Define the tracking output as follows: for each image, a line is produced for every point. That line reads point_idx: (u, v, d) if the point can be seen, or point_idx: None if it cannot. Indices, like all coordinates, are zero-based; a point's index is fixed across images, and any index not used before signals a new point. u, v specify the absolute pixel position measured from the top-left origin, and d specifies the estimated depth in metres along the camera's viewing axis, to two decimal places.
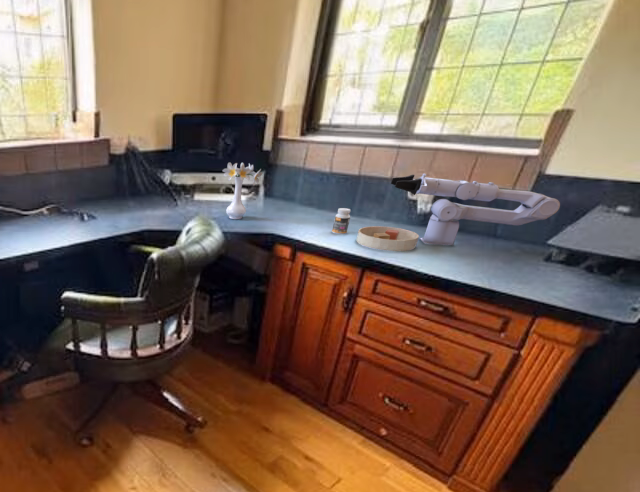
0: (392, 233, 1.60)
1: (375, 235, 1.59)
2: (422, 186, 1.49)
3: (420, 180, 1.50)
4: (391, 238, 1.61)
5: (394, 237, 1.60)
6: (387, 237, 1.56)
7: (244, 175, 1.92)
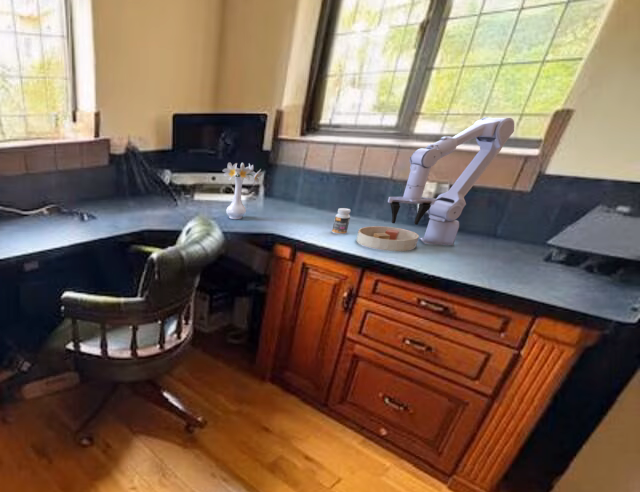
0: (392, 233, 1.60)
1: (375, 235, 1.59)
2: (434, 203, 1.50)
3: (430, 207, 1.49)
4: (391, 238, 1.61)
5: (394, 237, 1.60)
6: (387, 237, 1.56)
7: (244, 175, 1.92)
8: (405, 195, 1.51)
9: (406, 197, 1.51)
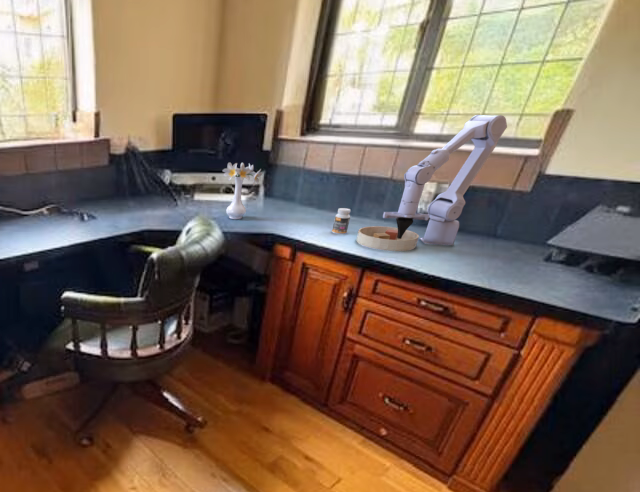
0: (392, 233, 1.60)
1: (375, 235, 1.59)
2: None
3: (412, 222, 1.53)
4: (391, 238, 1.61)
5: (394, 237, 1.60)
6: (387, 237, 1.56)
7: (244, 175, 1.92)
8: (400, 211, 1.54)
9: (401, 213, 1.54)
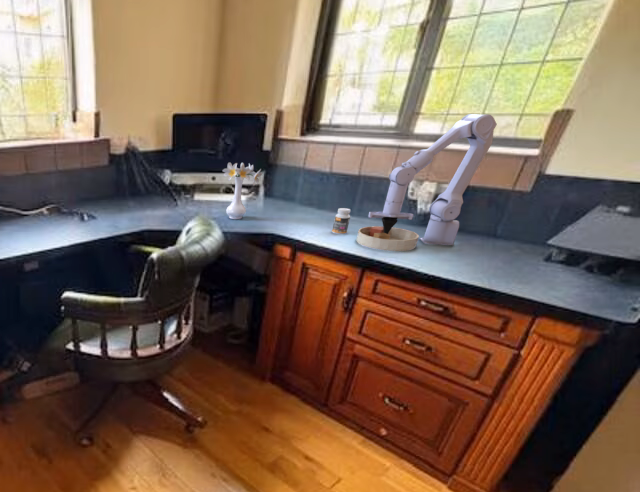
0: (377, 230, 1.64)
1: (375, 235, 1.59)
2: (411, 218, 1.57)
3: (396, 221, 1.58)
4: None
5: None
6: (387, 237, 1.56)
7: (244, 175, 1.92)
8: (384, 210, 1.58)
9: (385, 212, 1.58)
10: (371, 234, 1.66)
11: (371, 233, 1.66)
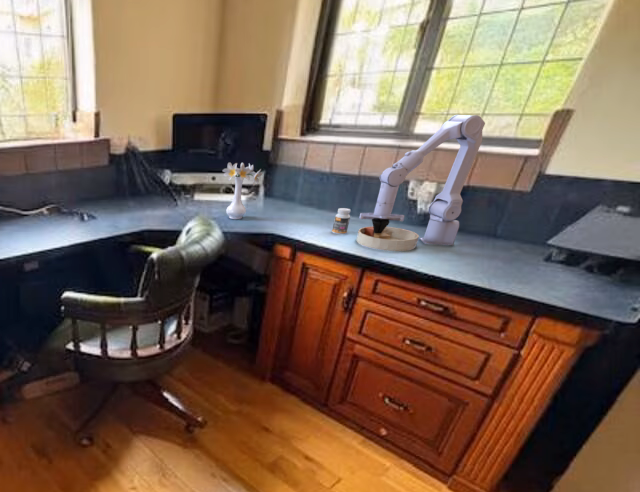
0: (370, 229, 1.65)
1: (375, 235, 1.58)
2: None
3: (388, 223, 1.56)
4: (369, 234, 1.66)
5: (371, 234, 1.65)
6: (387, 237, 1.56)
7: (244, 175, 1.92)
8: (375, 212, 1.57)
9: (376, 214, 1.57)
10: (365, 233, 1.67)
11: (365, 232, 1.67)
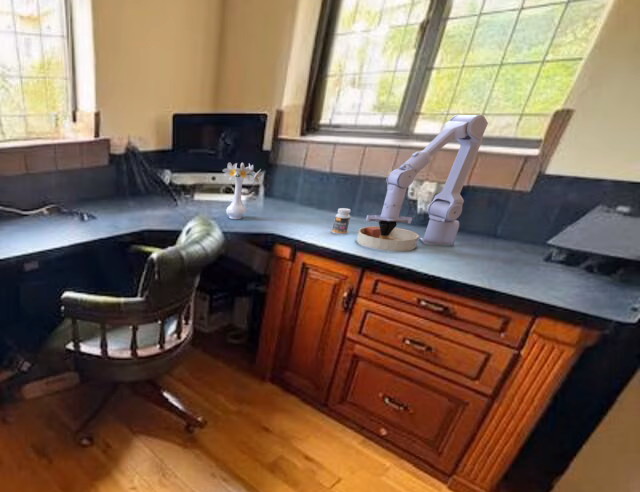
0: (370, 229, 1.65)
1: (380, 237, 1.56)
2: (410, 222, 1.52)
3: (395, 225, 1.53)
4: (369, 234, 1.66)
5: (371, 234, 1.65)
6: None
7: (244, 175, 1.92)
8: (382, 214, 1.54)
9: (383, 216, 1.53)
10: (365, 233, 1.67)
11: (365, 232, 1.67)
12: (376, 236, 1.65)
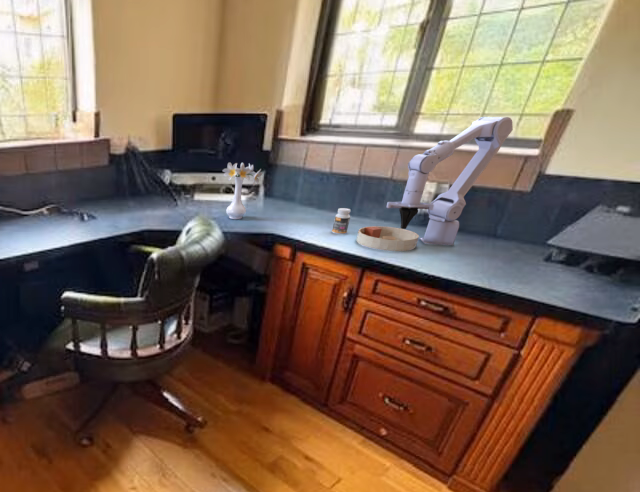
0: (370, 229, 1.65)
1: (382, 238, 1.55)
2: None
3: (417, 211, 1.51)
4: (369, 234, 1.66)
5: (371, 234, 1.65)
6: None
7: (244, 175, 1.92)
8: (403, 200, 1.52)
9: (404, 202, 1.52)
10: (365, 233, 1.67)
11: (365, 232, 1.67)
12: (376, 236, 1.65)
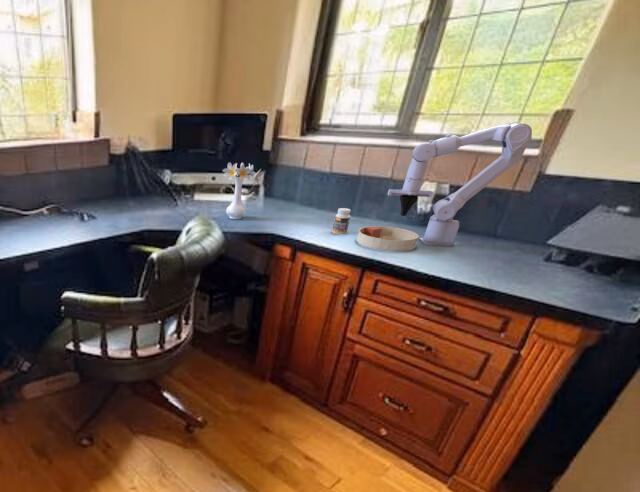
0: (370, 229, 1.65)
1: (382, 238, 1.55)
2: (431, 196, 1.57)
3: (417, 199, 1.57)
4: (369, 234, 1.66)
5: (371, 234, 1.65)
6: None
7: (244, 175, 1.92)
8: (404, 188, 1.58)
9: (405, 190, 1.57)
10: (365, 233, 1.67)
11: (365, 232, 1.67)
12: (376, 236, 1.65)
